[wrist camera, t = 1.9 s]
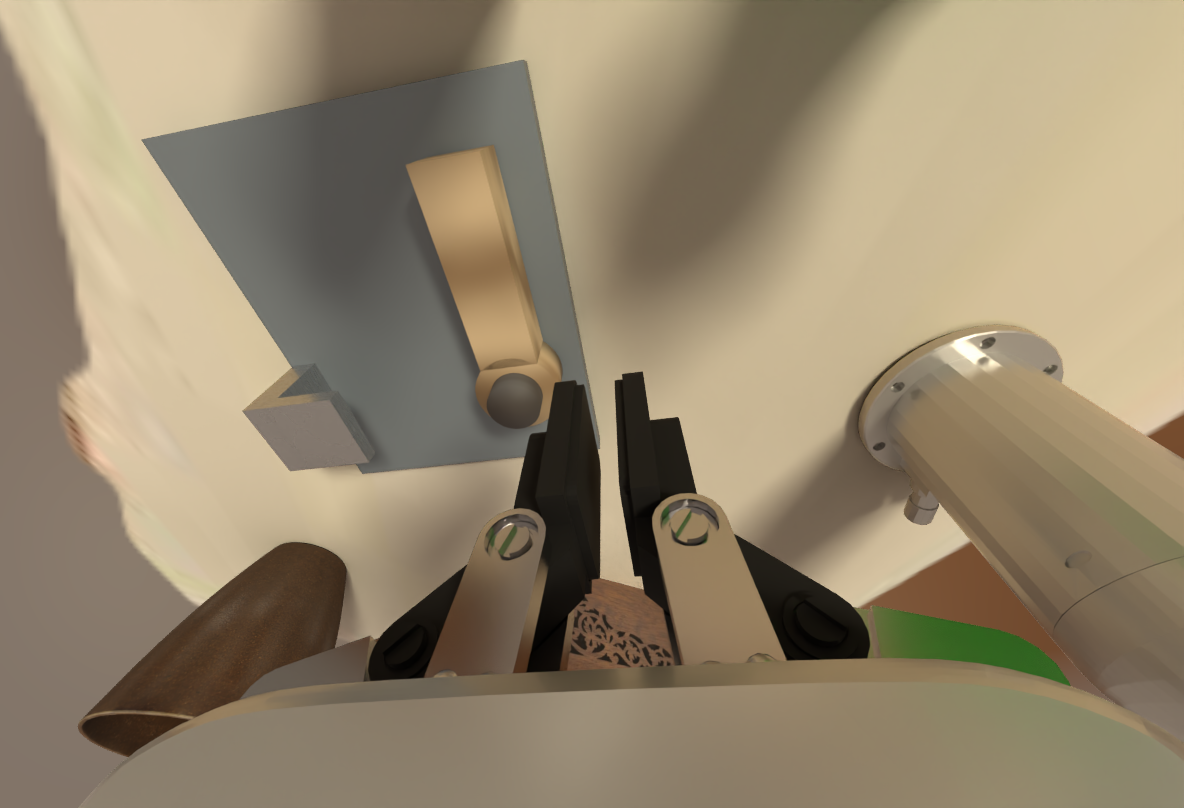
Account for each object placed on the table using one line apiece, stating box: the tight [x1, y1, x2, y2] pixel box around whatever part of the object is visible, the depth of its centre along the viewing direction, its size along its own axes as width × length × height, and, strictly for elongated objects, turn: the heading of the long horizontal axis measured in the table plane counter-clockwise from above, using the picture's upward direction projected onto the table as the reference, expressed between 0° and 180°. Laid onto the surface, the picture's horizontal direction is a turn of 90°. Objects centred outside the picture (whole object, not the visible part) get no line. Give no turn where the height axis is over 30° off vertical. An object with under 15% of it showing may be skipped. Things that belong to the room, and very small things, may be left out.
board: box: [142, 60, 600, 474], centre depth 28 cm, size 24×20×1 cm
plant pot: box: [78, 543, 346, 757], centre depth 39 cm, size 15×15×16 cm
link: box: [406, 145, 563, 429], centre depth 24 cm, size 16×5×4 cm, turn 9°
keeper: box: [243, 363, 376, 471], centre depth 29 cm, size 5×6×6 cm
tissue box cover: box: [567, 578, 674, 671], centre depth 48 cm, size 26×14×10 cm, turn 67°
